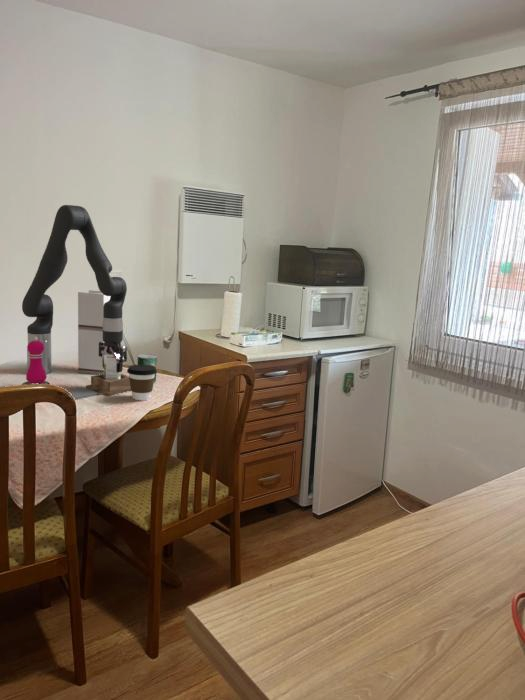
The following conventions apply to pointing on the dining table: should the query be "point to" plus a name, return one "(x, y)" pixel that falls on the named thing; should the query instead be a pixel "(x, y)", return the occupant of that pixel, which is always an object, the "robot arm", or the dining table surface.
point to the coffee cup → (141, 381)
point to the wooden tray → (109, 385)
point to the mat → (82, 392)
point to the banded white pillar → (90, 331)
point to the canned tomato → (148, 360)
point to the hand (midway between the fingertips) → (112, 370)
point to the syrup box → (110, 368)
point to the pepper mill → (36, 362)
